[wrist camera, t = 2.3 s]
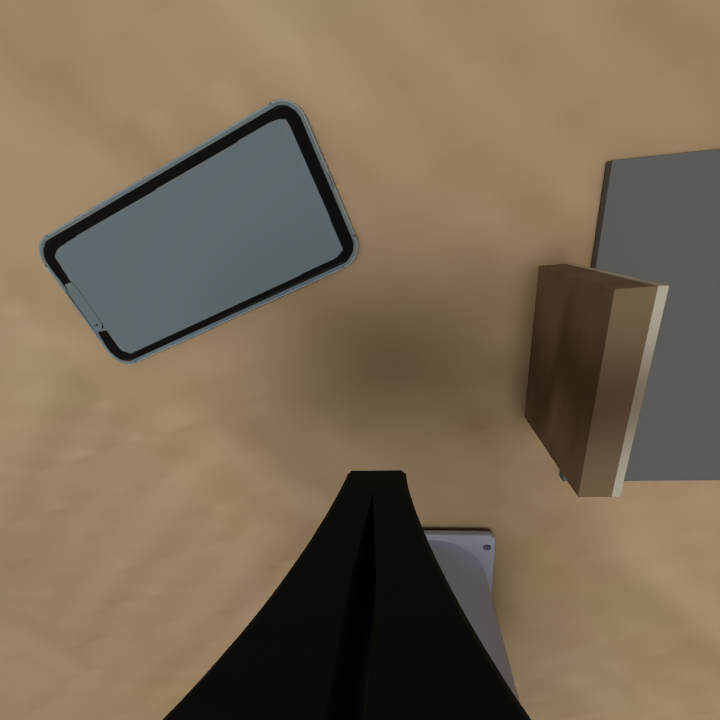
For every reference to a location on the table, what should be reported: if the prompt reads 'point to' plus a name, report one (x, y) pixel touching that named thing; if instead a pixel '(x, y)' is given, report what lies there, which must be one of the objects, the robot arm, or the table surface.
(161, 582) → the table surface
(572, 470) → the brown wooden block
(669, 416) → the mat
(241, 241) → the smartphone
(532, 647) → the table surface
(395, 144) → the table surface
